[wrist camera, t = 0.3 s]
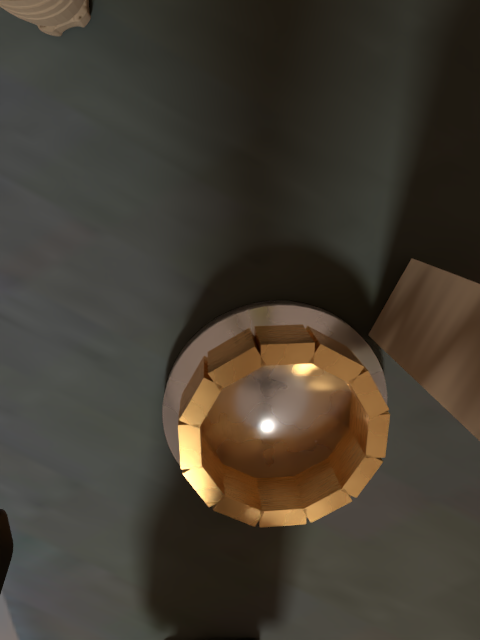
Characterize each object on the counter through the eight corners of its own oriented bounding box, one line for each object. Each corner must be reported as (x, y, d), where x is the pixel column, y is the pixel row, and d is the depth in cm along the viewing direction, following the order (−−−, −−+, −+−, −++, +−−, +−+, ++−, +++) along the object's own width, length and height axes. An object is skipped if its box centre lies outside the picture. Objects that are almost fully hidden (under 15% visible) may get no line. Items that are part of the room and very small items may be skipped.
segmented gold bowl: (370, 487, 26) (394, 533, 23) (170, 500, 25) (165, 549, 22) (390, 296, 22) (423, 317, 19) (156, 303, 21) (147, 326, 18)
